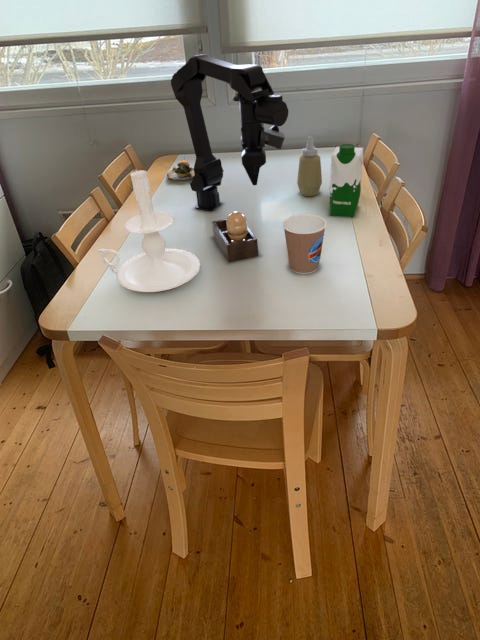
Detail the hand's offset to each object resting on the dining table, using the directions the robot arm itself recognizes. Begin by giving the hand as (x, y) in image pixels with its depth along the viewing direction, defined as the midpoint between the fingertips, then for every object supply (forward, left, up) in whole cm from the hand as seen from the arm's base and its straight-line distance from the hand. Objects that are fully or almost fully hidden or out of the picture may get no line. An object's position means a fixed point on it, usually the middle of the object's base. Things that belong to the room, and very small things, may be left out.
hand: (254, 178), depth 132 cm
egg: (+3, -18, -11) cm, 21 cm away
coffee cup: (+22, -19, -14) cm, 32 cm away
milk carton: (+21, +16, -14) cm, 30 cm away
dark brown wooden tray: (+1, -15, -14) cm, 20 cm away
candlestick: (-11, -38, -14) cm, 41 cm away
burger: (-44, +26, -14) cm, 53 cm away
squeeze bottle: (+6, +26, -14) cm, 30 cm away
